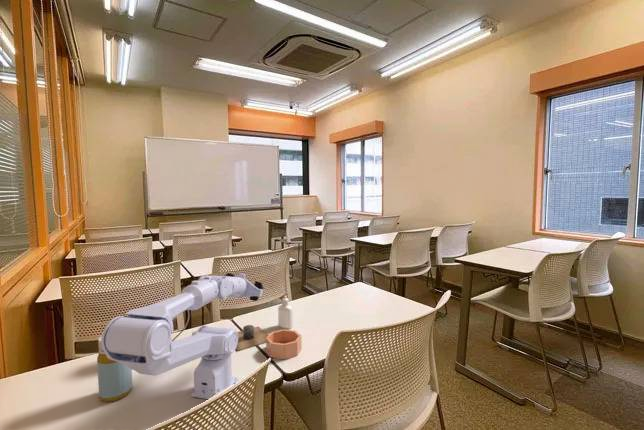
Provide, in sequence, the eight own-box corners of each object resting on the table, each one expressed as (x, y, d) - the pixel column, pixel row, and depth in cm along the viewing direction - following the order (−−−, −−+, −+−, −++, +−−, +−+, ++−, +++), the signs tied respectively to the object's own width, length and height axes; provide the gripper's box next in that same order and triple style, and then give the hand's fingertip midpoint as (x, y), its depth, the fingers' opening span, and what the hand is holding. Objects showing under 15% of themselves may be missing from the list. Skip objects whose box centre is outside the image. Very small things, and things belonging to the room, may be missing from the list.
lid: (237, 353, 101) (237, 339, 101) (224, 338, 112) (223, 325, 111) (274, 341, 109) (274, 328, 108) (258, 328, 119) (258, 317, 119)
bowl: (294, 360, 95) (293, 346, 95) (262, 356, 98) (261, 342, 97) (304, 344, 105) (304, 331, 105) (275, 341, 108) (275, 328, 107)
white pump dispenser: (282, 330, 116) (282, 298, 115) (277, 325, 121) (277, 294, 120) (293, 328, 118) (293, 296, 117) (288, 323, 123) (287, 292, 122)
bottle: (137, 385, 83) (135, 329, 82) (122, 402, 76) (119, 342, 75) (110, 385, 83) (108, 330, 82) (92, 403, 76) (89, 343, 75)
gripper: (258, 279, 88) (274, 280, 101) (213, 266, 92) (234, 268, 105) (250, 304, 87) (268, 302, 100) (205, 290, 90) (228, 290, 103)
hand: (251, 286), depth 102 cm, fingers open, 7 cm apart
